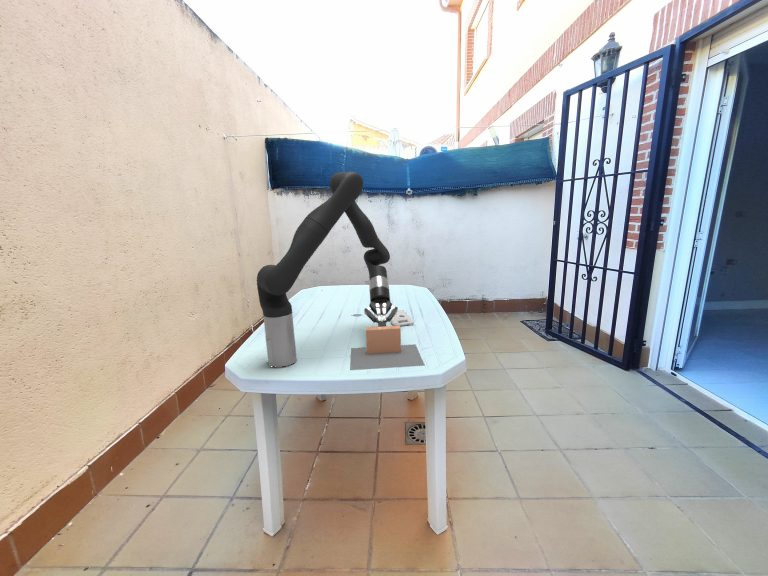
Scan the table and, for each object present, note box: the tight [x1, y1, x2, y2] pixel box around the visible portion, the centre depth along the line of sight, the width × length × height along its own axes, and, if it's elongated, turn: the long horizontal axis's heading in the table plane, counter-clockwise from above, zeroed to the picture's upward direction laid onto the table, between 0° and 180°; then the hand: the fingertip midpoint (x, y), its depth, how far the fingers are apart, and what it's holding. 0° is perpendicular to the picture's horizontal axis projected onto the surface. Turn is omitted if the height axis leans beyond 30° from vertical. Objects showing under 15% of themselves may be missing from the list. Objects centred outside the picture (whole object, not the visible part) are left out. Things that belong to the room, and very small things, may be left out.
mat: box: [349, 344, 425, 371], centre depth 118 cm, size 24×18×1 cm
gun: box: [389, 309, 415, 327], centre depth 156 cm, size 18×3×10 cm
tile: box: [365, 325, 402, 354], centre depth 120 cm, size 12×2×9 cm, turn 94°
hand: (382, 331), depth 121 cm, fingers closed
